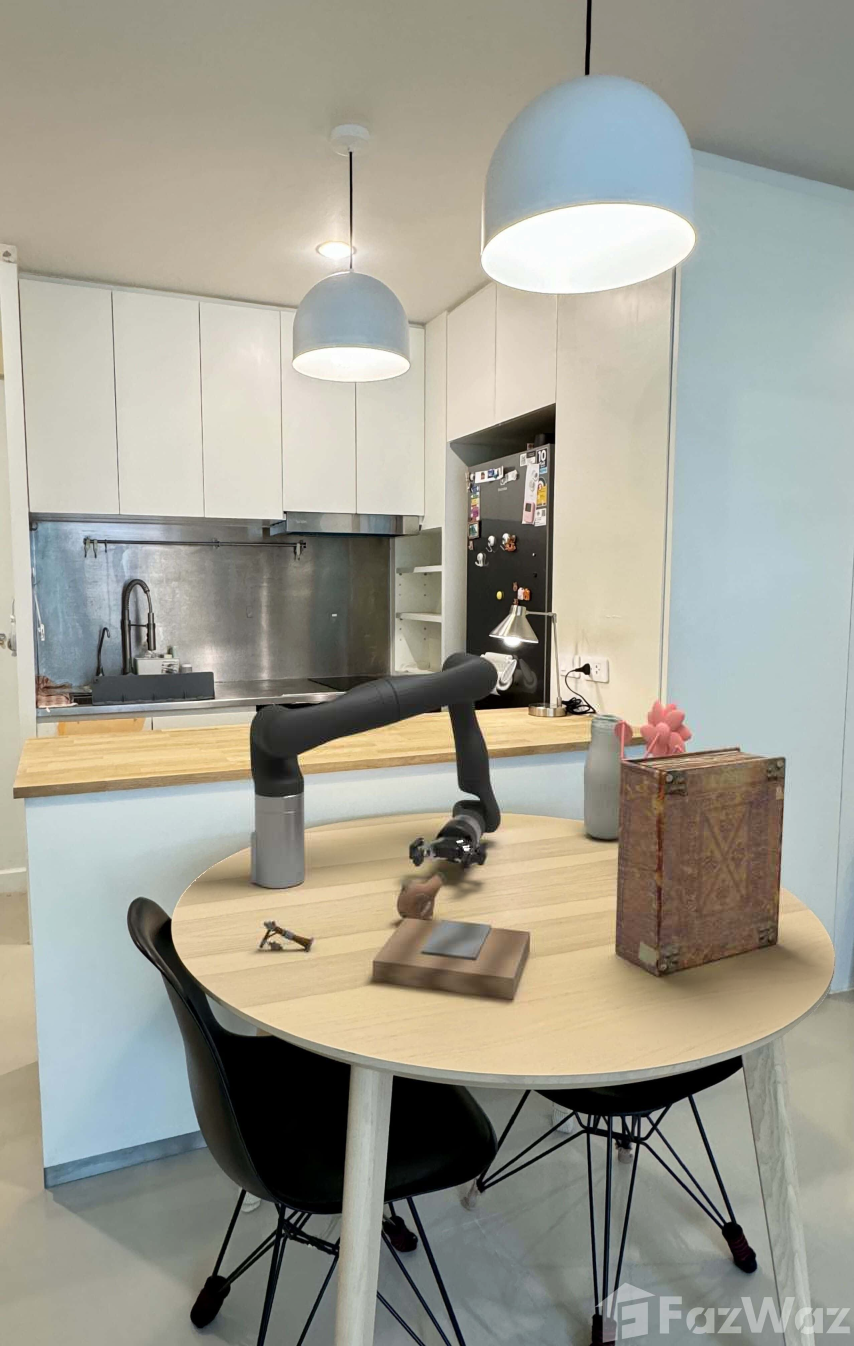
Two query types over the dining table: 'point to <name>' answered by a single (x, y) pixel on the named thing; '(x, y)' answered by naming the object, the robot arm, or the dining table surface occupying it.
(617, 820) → the glass bottle
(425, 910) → the oil lamp
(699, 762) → the book
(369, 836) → the dining table surface
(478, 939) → the wooden block
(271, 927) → the wooden blunderbuss cannon
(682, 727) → the pink flower ornament
